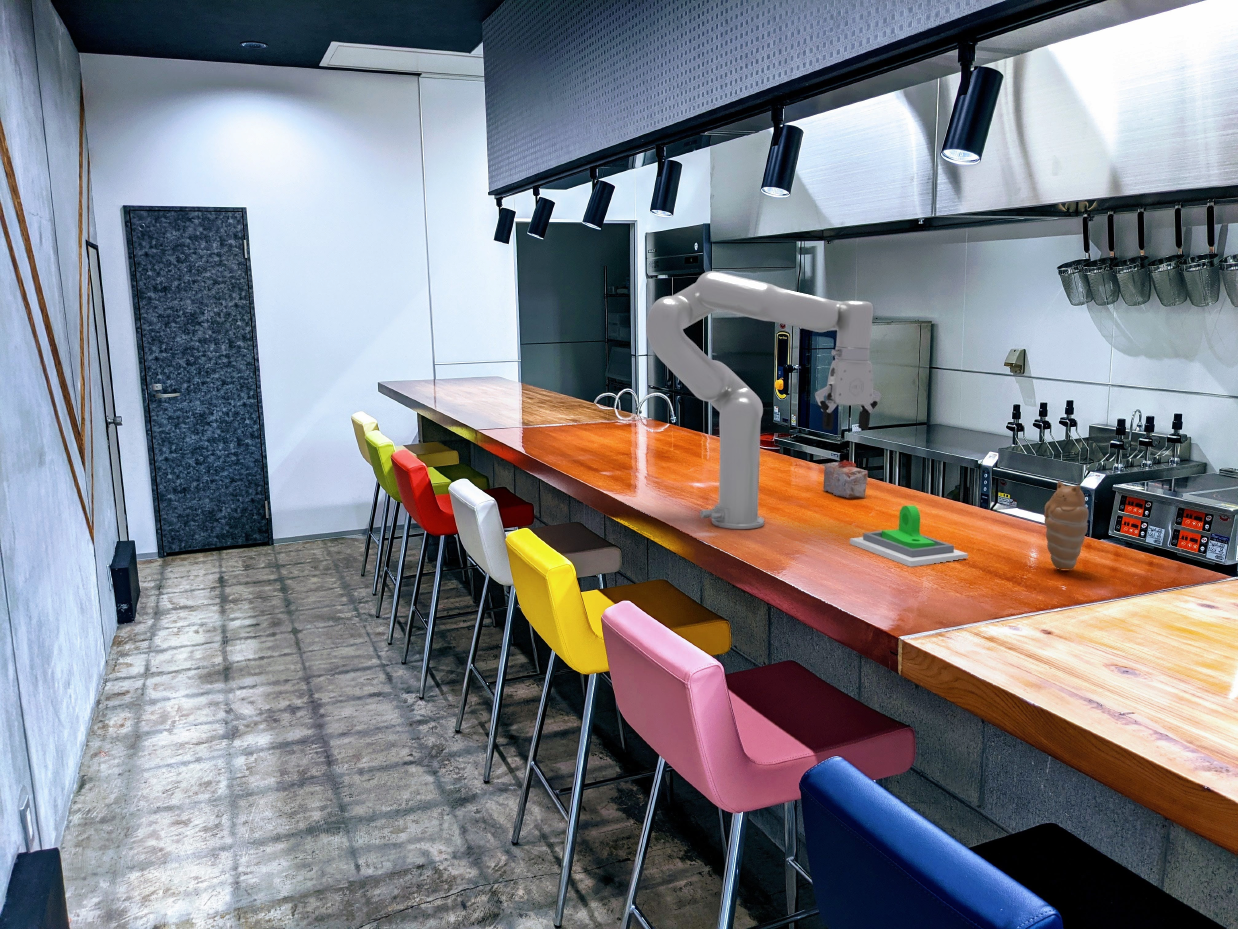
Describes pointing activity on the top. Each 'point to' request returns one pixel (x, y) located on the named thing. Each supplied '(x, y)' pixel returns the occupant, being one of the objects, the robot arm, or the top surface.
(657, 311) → the robot arm
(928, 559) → the socket board
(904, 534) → the mechanical part
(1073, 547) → the cat ice cream
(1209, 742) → the top surface
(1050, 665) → the top surface
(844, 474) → the food item
